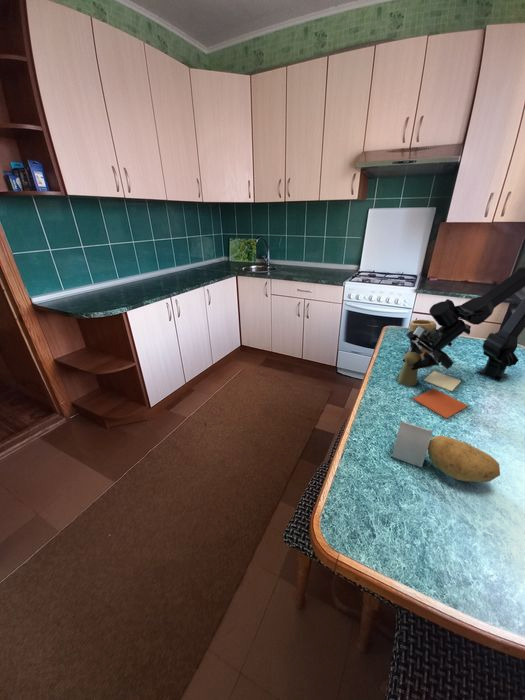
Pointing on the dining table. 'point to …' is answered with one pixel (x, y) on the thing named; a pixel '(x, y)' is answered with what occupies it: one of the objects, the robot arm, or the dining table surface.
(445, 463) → the potato
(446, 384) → the cream mat
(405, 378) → the cork
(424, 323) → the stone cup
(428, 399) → the terracotta mat
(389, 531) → the dining table surface
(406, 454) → the grey rectangular block
